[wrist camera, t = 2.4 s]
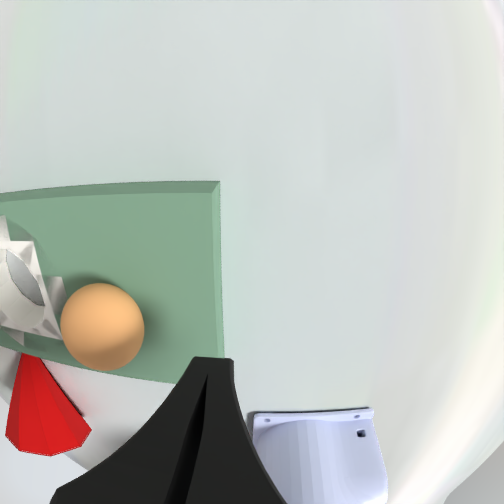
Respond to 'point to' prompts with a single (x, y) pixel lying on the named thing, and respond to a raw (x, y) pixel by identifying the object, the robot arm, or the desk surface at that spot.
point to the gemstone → (42, 413)
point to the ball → (102, 326)
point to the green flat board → (118, 267)
